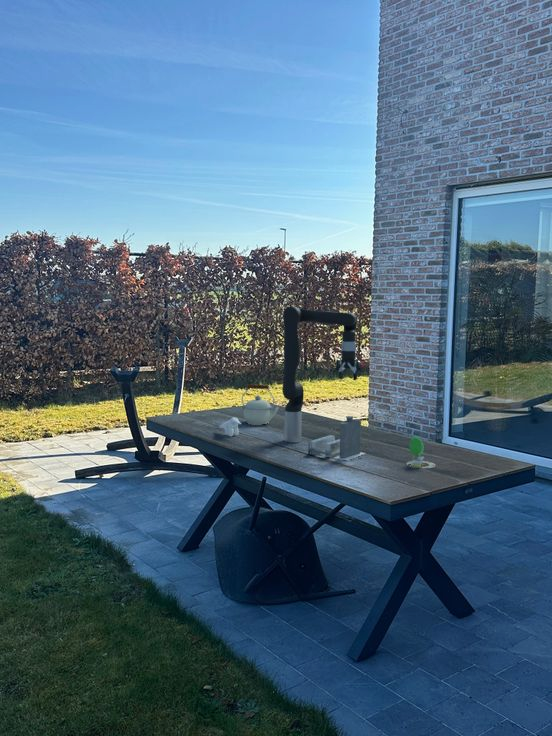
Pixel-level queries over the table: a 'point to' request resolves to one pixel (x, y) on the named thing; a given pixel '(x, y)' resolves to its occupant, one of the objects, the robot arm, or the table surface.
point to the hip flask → (350, 437)
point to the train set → (417, 453)
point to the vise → (325, 446)
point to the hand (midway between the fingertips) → (348, 379)
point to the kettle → (258, 408)
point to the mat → (349, 456)
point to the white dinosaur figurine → (231, 427)
